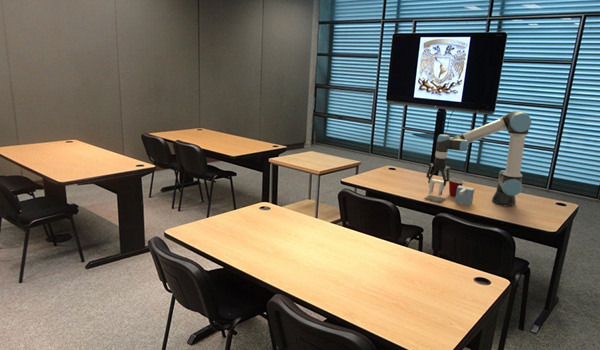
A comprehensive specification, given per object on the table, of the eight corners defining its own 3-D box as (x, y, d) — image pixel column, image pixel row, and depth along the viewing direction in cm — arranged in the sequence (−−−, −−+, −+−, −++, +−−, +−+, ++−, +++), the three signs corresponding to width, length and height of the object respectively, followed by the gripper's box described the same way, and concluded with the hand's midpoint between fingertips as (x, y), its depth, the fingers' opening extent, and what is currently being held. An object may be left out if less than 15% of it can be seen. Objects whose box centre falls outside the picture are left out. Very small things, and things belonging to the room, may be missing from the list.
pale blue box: (441, 194, 300) (444, 181, 298) (440, 196, 297) (442, 182, 295) (430, 192, 305) (432, 178, 302) (428, 193, 302) (430, 179, 299)
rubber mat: (445, 199, 304) (446, 198, 303) (440, 203, 294) (440, 202, 294) (429, 195, 310) (429, 194, 310) (423, 199, 300) (423, 198, 300)
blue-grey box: (472, 203, 297) (474, 188, 294) (466, 209, 284) (468, 193, 281) (457, 200, 302) (459, 185, 299) (450, 206, 289) (453, 190, 287)
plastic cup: (460, 199, 306) (462, 182, 303) (444, 196, 311) (447, 180, 308) (462, 195, 315) (465, 179, 312) (447, 192, 320) (450, 176, 317)
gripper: (457, 159, 292) (452, 191, 298) (427, 153, 303) (423, 184, 309) (454, 160, 286) (449, 193, 292) (423, 155, 297) (419, 187, 303)
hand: (436, 189), depth 300 cm, fingers closed on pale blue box, 8 cm apart
